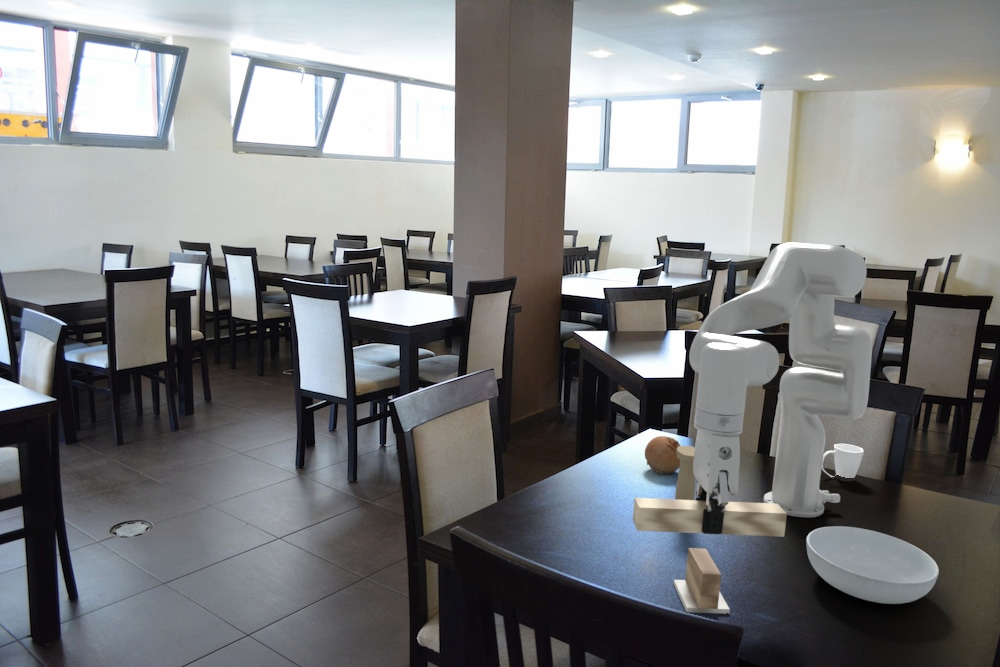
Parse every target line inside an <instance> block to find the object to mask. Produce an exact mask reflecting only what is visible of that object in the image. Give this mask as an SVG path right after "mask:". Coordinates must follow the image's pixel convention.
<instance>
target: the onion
mask: <svg viewBox="0 0 1000 667" xmlns="http://www.w3.org/2000/svg"><path fill="white" fill-rule="evenodd" d="M678 446H681V444H680V443H679V441H678V440H676V439H675V438H673V437H669V436H666V435H665V436H663V435H661V436H660V435H659V436H656V437H654V438H652V439H651V440H650V441H649V442H648V443H647V444H646V446H645V450H644V458H645V460H646V465H647V466H649V468H650V469H651V470H653V471H654V472H655V473H657V474H662V475H666V474H667V475H669V474H673V473H675V472H676V471H677V470H678V471H679V467H680V459H678V458H677V455H676V451H677V447H678Z"/></svg>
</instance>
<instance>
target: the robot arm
mask: <svg viewBox="0 0 1000 667" xmlns="http://www.w3.org/2000/svg"><path fill="white" fill-rule="evenodd" d="M866 280H867V265H866V260H865V258H864V257H863V255H861V253H859V252H856V251H854V250H851V249H849V248H846V247H843V246H840V245H832V244H819V243H811V242H810V243H808V242H807V243H806V242H795V241H794V242H784V243H781V244H778V245H777V246H775V247H773V249H772V250H771V251H770V252H769V254H768V256H767V258H766V259H765V261H764V264H763V265H762V268H761V269H760V270H759V273H758V274H757V276H756V278H755V280H754V281H753V284H752V285H751V287H750V289H749V291H747V292H744V293H743V294H740V295H738V296H735V297H734V298H732V299H730V300H728V301H726V302H724V303H723V304H721V305H719V306H717V307H716V308H715V309H713V310H712V311H711V312H710V313H709V314H707V316H706V318H705V319H704V320H703V322H702V323H701V326H700V327H699V329H698V330H697V332H696V335H695V336H694V338H693V340H692V343H691V346H690V348H689V353H688V354H689V357H688V358H689V365H690V366H691V368H692V370H693V371H694V372H695V373H696V374H698V380H697V381H698V382H697V390H696V402H695V409H694V410H695V411H694V412H695V413H694V420H693V421H694V422H693V427H694V428H695V429H696V430H697V431H696V438H695V445H694V447H695V451H694V460H693V473H694V476H695V480H696V482H697V484H696V488H695V495H696V497H695V500H698V501H706V509H704V512H703V521H702V532H703V533H702V534H706V535H723V534H722V529H723V520H724V512H725V506H726V505H728V503H729V502H730V500H729V494H731V496H736V495H737V493H738V491H739V477H740V460H741V458H740V457H741V448H740V447H741V445H740V443H741V442H740V434H742V433H743V428H744V427H743V425H744V421H745V420H744V418H745V409H746V401H747V393H748V392H747V391H748V390H747V389H748V387H759V386H763V385H765V384H768V383H770V382H771V380H773V378H775V376H776V375H777V374H778V371H779V369H780V368H779V367H780V356H779V352H778V350H777V349H776V347H775V346H774V345H772V344H771V343H770V342H768V341H764V340H761V339H760V340H759V339H754V338H747V337H744V336H743V337H742V336H738V335H736V334H739V333H743V332H747V331H753V330H754V331H755V330H759V329H765V328H769V327H770V328H771V327H773V326H777V325H781V324H784V323H785V322H788V321H789V330H788V332H789V333H788V351H789V356H790V358H791V359H792V360H793V361H794V362H795V363H797V364H800V365H803V366H795V367H791V368H788V369H786V370H785V371H784V372H783V374H782V375H781V377H780V379H779V380H780V381H779V399H780V400H779V401H780V402H779V403H780V415H779V426H778V427H779V428H778V436H777V444H776V453H775V461H774V462H775V463H774V471H773V479H772V489H771V491H769V492H767V493H765V494H764V495H763V503H774V504H778V505H779V506H780V507H781V508H782V509H783V510H784V511H785V512H786V513H787V516H790V517H794V518H795V517H797V518H805V519H806V518H808V519H809V518H816V517H820V516H821V515H823V514H824V511H825V505H824V504H826V503H829V502H830V503H835V504H837V503H840V502H841V495H840V494H839V493H830V491H829V490H824V489H822V490H821V489H820V485H821V483H820V482H821V477H822V476H821V474H822V461H823V454H824V453H825V446H826V430H825V427H824V424H823V423H822V421H821V419H820V417H819V416H825V417H829V418H830V417H832V418H835V419H839V420H847V421H856V420H859V419H861V418H862V417H863V416H864V415H865V413H866V410H867V406H868V402H869V393H870V382H871V381H870V380H871V370H872V369H871V368H872V357H873V356H872V355H873V343H872V338H871V336H870V334H869V332H868V331H867V330H865V329H864V328H862V327H857V326H853V325H847V324H846V325H845V324H839V323H836V322H835V298H834V296H837V297H845V298H850V297H851V298H852V297H854V296H856V295H858V294H859V293H860V292H861V290H862V289H863V287H864V285H865V282H866ZM804 365H805V366H804ZM806 366H809V367H806ZM825 369H826V370H825ZM830 370H831V371H830ZM838 371H839V372H838ZM818 415H819V416H818ZM823 462H824V461H823ZM716 490H717V491H716ZM715 497H716V498H715Z"/></svg>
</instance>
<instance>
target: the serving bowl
mask: <svg viewBox="0 0 1000 667" xmlns="http://www.w3.org/2000/svg"><path fill="white" fill-rule="evenodd" d="M805 541H806V542H805V543H806V551H807V556H808V557H807V558H808V561H809V562H810V564H811V567H812V568H813V569H814V570H815V572H816V573H817V574H818V575H819V576H820V578H822V579H823V580H824V581H825V582H826V583H828V584H829V585H830V586H832V587H833V588H835V589H837V590H839V591H840V592H842V593H845V594H847V595H849V596H853V597H855V598H858V599H861V600H864V601H867V602H873V603H878V604H887V605H888V604H889V605H897V604H898V605H901V604H905V603H906V604H907V603H912V602H915V601H917V600H919V599H921V598H923V597H924V596H926V595H927V594H928V593H929V592H930V591H931V590H932V589H933V587H934V586H935V584H936V582H937V578H939V573H940V571H939V569H940V568H939V566H938V564H937V562H936V561H935V560H934V559H933V557H931V556H930V555H929V554H928V553H926V552H925V551H924V550H922V549H920V548H919V547H917V546H915V545H913V544H911V543H909V542H907V541H905V540H902V539H900V538H898V537H895V536H892V535H889V534H886V533H884V532H883V533H882V532H879V531H875V530H871V529H866V528H865V529H864V528H861V527H854V526H842V525H840V526H839V525H835V526H833V525H832V526H823V527H819V528H815V529H814V530H812V531H810V532H809V533H808V535H807V536H806V539H805Z"/></svg>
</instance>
